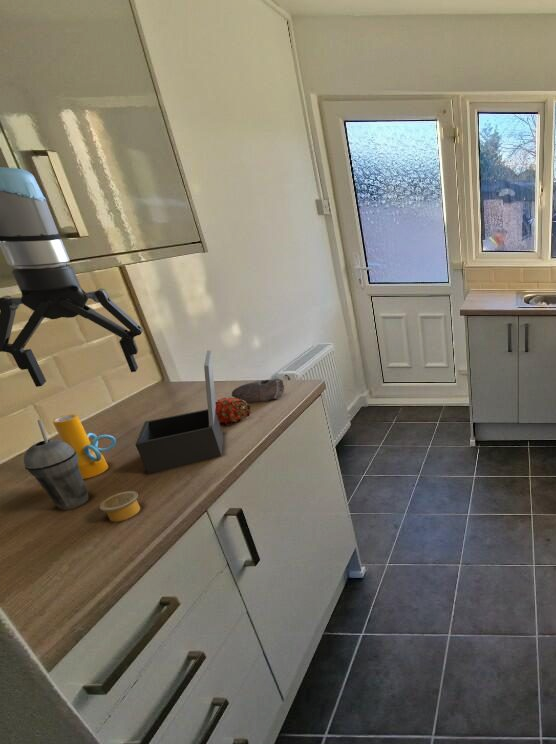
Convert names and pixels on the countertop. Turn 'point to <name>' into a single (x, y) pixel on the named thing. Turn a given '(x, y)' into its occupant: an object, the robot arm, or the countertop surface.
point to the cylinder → (83, 445)
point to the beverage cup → (57, 471)
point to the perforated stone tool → (260, 391)
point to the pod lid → (210, 387)
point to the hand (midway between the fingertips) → (90, 376)
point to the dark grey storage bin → (179, 441)
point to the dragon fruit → (231, 410)
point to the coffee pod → (121, 506)
